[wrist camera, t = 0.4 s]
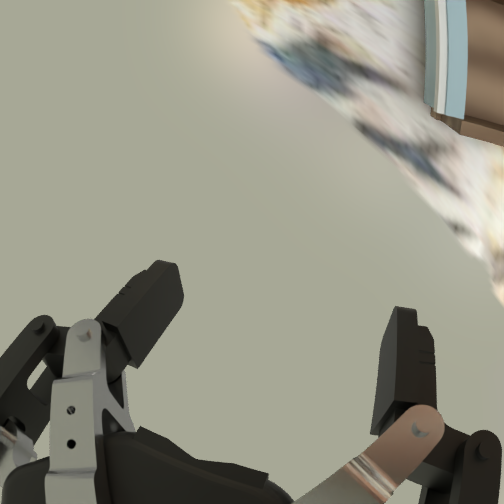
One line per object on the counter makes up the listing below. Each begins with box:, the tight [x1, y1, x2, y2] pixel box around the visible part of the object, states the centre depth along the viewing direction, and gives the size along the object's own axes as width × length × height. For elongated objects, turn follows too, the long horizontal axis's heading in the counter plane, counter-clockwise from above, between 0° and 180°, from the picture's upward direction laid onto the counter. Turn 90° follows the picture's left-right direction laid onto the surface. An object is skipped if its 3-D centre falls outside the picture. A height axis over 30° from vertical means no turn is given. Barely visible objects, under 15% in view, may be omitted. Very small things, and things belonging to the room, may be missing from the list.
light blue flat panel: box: [424, 0, 468, 119], centre depth 17 cm, size 13×2×9 cm, turn 3°
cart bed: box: [431, 0, 504, 147], centre depth 17 cm, size 16×12×10 cm
